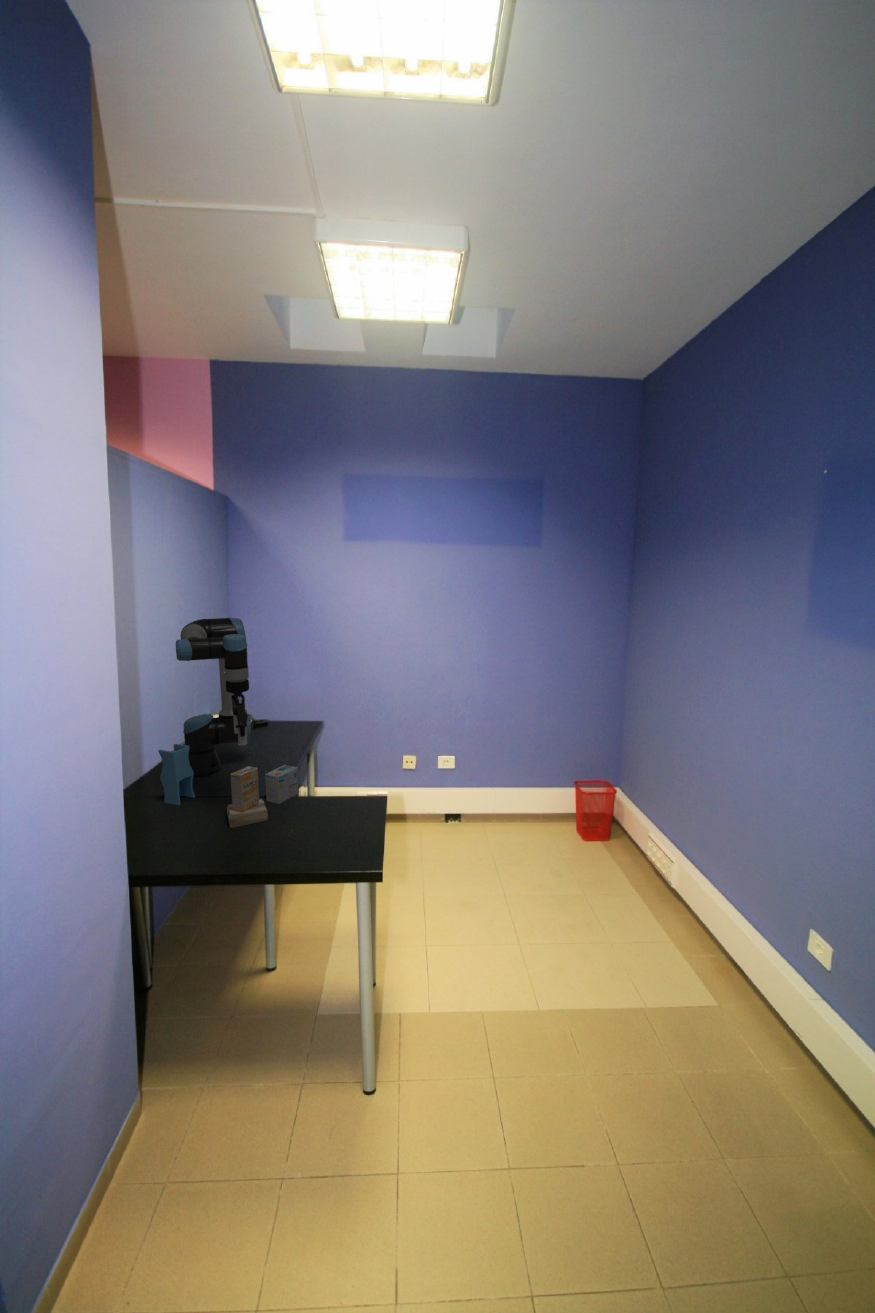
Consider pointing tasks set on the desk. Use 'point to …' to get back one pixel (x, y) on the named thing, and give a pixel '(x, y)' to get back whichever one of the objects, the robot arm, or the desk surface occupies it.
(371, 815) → the desk surface
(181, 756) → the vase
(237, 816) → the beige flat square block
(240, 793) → the supplement box
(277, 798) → the light bulb box
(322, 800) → the desk surface
